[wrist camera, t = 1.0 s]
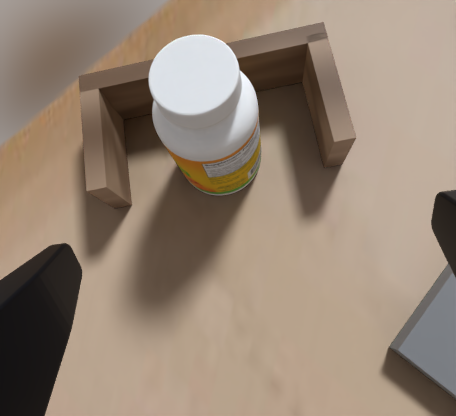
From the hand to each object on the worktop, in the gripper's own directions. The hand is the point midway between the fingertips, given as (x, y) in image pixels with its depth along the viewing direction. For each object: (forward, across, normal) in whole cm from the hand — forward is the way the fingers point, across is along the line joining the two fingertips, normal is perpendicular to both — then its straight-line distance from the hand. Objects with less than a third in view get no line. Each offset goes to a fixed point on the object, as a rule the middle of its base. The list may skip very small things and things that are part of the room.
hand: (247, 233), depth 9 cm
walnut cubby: (+17, +2, +4) cm, 17 cm away
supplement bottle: (+16, +2, +5) cm, 17 cm away
